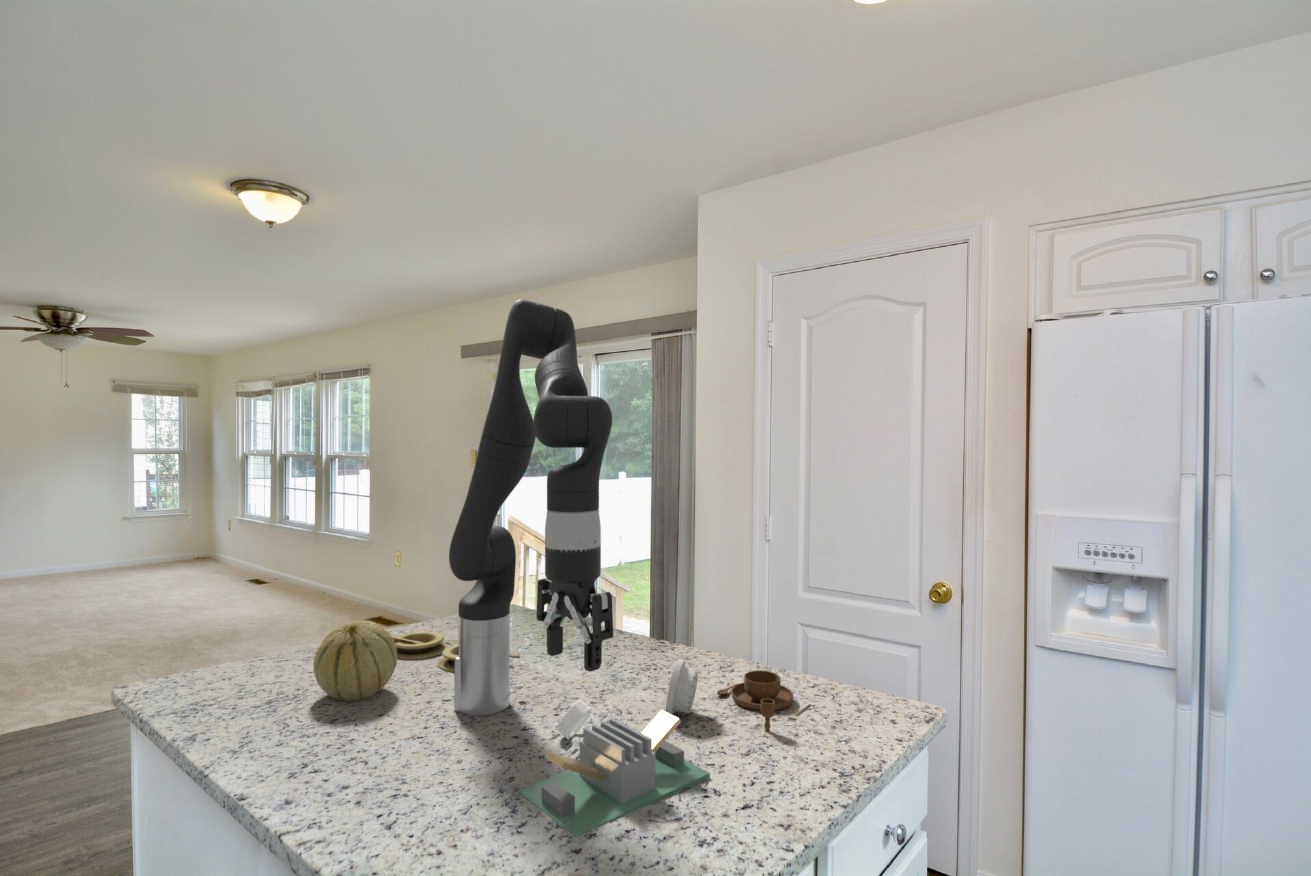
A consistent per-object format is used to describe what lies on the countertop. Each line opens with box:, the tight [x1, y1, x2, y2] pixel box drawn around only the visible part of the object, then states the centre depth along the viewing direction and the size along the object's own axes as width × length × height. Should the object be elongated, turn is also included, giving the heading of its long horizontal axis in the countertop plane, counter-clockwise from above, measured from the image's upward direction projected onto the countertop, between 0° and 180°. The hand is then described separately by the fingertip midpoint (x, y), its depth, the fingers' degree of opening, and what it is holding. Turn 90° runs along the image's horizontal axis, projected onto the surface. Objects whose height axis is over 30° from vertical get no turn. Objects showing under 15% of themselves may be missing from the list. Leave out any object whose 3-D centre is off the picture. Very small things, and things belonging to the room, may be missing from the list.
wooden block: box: [640, 709, 682, 753], centre depth 104 cm, size 8×4×1 cm, turn 131°
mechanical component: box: [665, 658, 699, 716], centre depth 125 cm, size 10×4×10 cm, turn 168°
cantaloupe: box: [313, 620, 398, 702], centre depth 132 cm, size 15×15×15 cm
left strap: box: [544, 750, 606, 781], centre depth 94 cm, size 8×4×1 cm, turn 131°
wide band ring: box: [547, 699, 627, 760], centre depth 114 cm, size 18×10×6 cm
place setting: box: [716, 670, 812, 733], centre depth 130 cm, size 18×20×6 cm
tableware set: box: [391, 630, 520, 673], centre depth 157 cm, size 30×20×6 cm, turn 61°
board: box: [517, 717, 711, 837], centre depth 99 cm, size 24×14×8 cm, turn 131°
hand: (573, 661), depth 94 cm, fingers open, 8 cm apart
